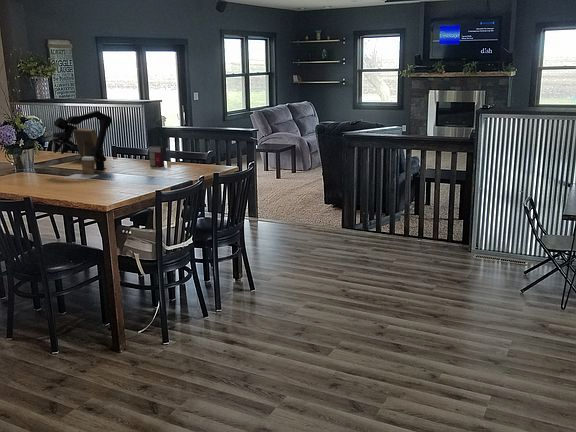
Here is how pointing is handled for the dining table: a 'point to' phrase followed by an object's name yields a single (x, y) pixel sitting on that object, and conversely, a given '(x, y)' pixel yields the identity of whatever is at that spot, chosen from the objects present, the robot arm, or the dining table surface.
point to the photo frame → (85, 141)
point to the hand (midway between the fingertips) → (58, 153)
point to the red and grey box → (156, 156)
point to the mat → (80, 176)
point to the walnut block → (88, 165)
